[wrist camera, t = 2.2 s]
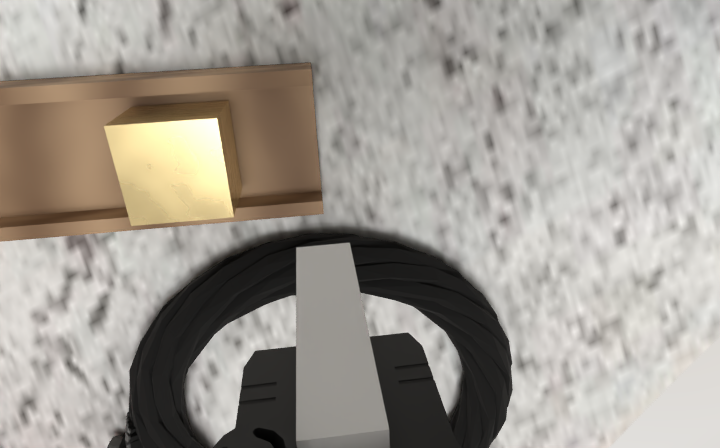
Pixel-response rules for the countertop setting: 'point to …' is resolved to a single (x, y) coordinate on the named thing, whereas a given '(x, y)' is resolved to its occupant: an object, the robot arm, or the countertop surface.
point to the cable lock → (278, 280)
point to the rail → (94, 159)
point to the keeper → (176, 162)
